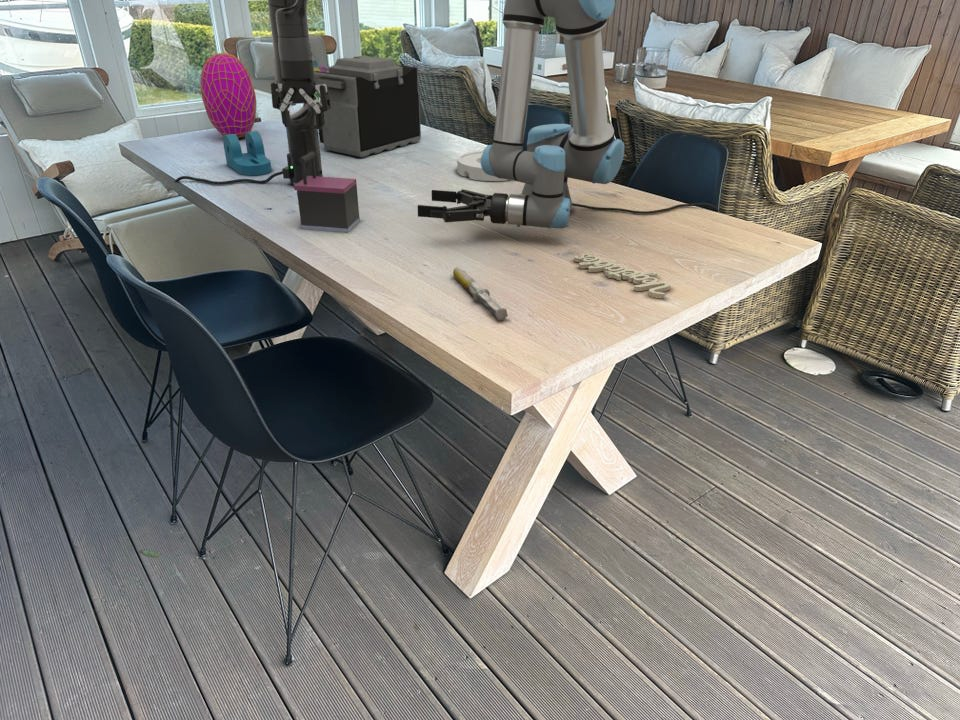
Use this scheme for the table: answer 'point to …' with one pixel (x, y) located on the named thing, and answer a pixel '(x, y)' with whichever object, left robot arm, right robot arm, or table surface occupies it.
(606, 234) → the table surface
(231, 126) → the decorative egg
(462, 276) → the yellow and grey rod
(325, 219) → the chest
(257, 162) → the camera mount
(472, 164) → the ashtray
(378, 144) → the tool box
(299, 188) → the lid
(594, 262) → the decorative sign
